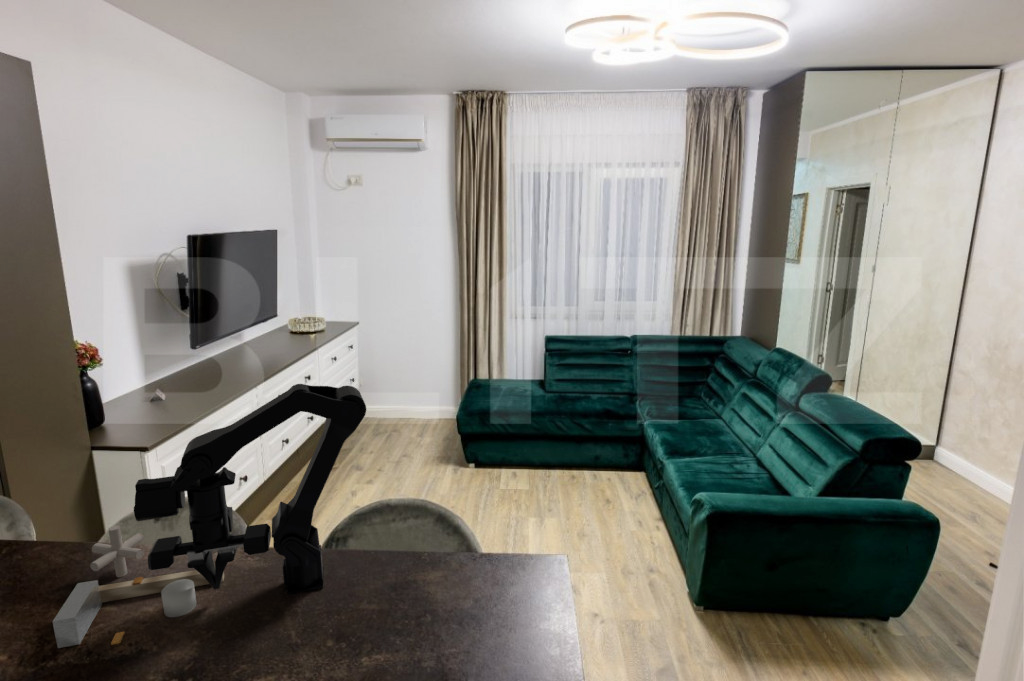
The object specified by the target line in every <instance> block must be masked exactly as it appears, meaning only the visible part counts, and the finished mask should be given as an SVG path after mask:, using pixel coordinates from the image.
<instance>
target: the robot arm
mask: <svg viewBox="0 0 1024 681" xmlns="http://www.w3.org/2000/svg"><path fill="white" fill-rule="evenodd" d="M300 412H304V413H308V414H312V415H316V416H318V417H321V418H325V424H324V429H323V431H322V434H321V436H320V438H319V440H318V443H317V445H316V448H315V449H314V452H313V454H312V456H311V459H310V461H309V463H308V465H307V467H306V470H305V472H304V474H303V476H302V478H301V481H300V482H299V486H298V487H297V490H296V491H295V494H294V496H293V498H292V499H291V500H290V501H288V503H285V502H284V501H280V502H279V505H278V510H277V512H276V514H275V515H274V516H273V517H272V518H271V526H270V525H269V524H268V523H261V524H254V525H247V526H246V529H245V531H244V532H245V533H244V534H237V533H232V531H233V523H234V521H233V520H234V518H233V515H234V514H233V507H232V506H228V505H227V499H226V489H225V488H226V487H225V486H231V485H234V484H235V482H236V476H237V475H236V472H234V471H232V470H229V469H228V468H227V467H225V465H227V464H228V462H229V461H230V460H232V459H233V457H234V456H235V455H236V454H237V453H238V452H239V451H241V449H242V448H244V447H245V446H247V445H249V444H250V443H252V442H254V441H255V440H257V439H258V438H260V437H261V436H263V435H265V434H266V433H268V432H269V431H271V430H273V429H274V428H276V427H277V426H279V425H281V424H282V423H284V422H286V421H287V420H289V419H291V418H292V417H294V416H296V415H297V414H299V413H300ZM366 413H367V405H366V403H365V401H364V398H363V397H362V393H361V392H360V390H358V388H356V387H354V386H352V385H343V386H339V387H336V386H335V387H334V386H330V385H329V386H328V385H309V384H303V383H297V384H293V385H292V386H291V387H290V388H288V390H286V391H284V392H283V393H281V394H279V395H278V396H277V397H275V398H273V399H271V400H270V401H268V402H266V403H265V404H263V405H262V406H260V407H258V408H256V409H255V410H253V411H251V412H250V413H248V414H246V415H245V416H244V417H243V416H242V418H240V419H239V420H237V421H235V422H233V423H231V424H230V425H227V426H225V427H221V428H220V427H219V428H216V429H212V430H210V431H207V432H206V433H205V432H204V433H203V434H201V435H198V436H196V437H194V438H192V439H191V440H190V441H189V442H188V443H187V444H186V447H185V450H184V452H183V454H182V457H181V462H180V465H179V466H178V467H177V468H176V469H175V472H174V475H172V476H165V477H156V478H143V479H138V480H137V482H136V483H135V486H134V487H135V495H134V506H133V514H134V518H135V520H136V521H137V522H144V521H150V520H155V519H156V520H157V519H162V518H169V517H174V516H175V517H176V516H177V515H178V514H179V513H180V512H179V509H180V510H182V509H184V508H185V507H186V506H185V505H186V495H187V505H188V510H189V511H188V512H189V516H188V520H189V522H188V523H189V530H190V531H191V536H192V541H189V542H183V540H182V537H181V535H176V536H175V535H174V536H170V537H169V536H168V537H163V538H158V539H156V541H155V542H154V544H153V546H152V547H151V549H150V552H149V553H148V555H147V566H148V570H150V571H156V570H161V569H169V568H170V567H171V566H172V565H173V564H174V563H175V557H179V556H183V555H186V557H187V558H188V562H187V568H188V569H194V570H197V571H198V572H199V573H200V574H201V575H202V576H203V577H204V578H205V579H206V580H207V581H208V582H209V584H208V585H210V586H211V587H212V589H213V590H220V587H221V584H222V582H221V580H222V576H223V572H224V573H225V569H226V567H227V564H228V563H231V562H234V560H235V557H236V555H237V549H238V547H239V548H240V547H243V552H244V553H245V554H247V555H248V556H252V555H258V554H265V553H267V552H268V551H269V550H270V545H271V539H272V540H273V546H272V547H273V548H274V551H275V552H276V553H277V554H278V555H280V556H282V557H284V559H283V561H282V575H283V576H282V577H283V585H284V586H285V587H286V594H287V595H292V594H297V593H303V592H308V591H314V590H320V589H323V588H324V585H325V582H324V578H325V577H324V576H325V575H324V573H325V572H324V570H325V567H324V566H323V556H322V545H321V544H320V538H319V530H318V528H317V527H316V526H314V525H312V521H313V518H314V517H313V516H314V511H315V508H316V507H317V506H316V505H317V503H318V501H319V499H320V497H321V494H322V492H323V491H324V488H325V485H326V483H327V482H328V479H329V476H330V474H331V472H332V470H333V468H334V465H335V464H336V461H337V459H338V457H339V455H340V453H341V451H342V448H343V445H344V443H346V440H348V439H349V437H350V436H351V435H352V434H353V433H355V432H356V430H357V428H358V427H359V425H360V424H361V422H362V421H363V420H364V418H365V417H366ZM230 533H232V534H230ZM213 551H217V554H216V555H217V556H216V558H215V561H214V558H213Z"/></svg>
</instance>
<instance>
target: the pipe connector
mask: <svg viewBox="0 0 1024 681" xmlns="http://www.w3.org/2000/svg"><path fill="white" fill-rule="evenodd" d="M107 530H108V534H109V536H108V537H109V541H110V544H108V543H102V542H101V543H100V542H99V543H98V542H96V543H95V544H93V545H92V547H91V552H92V553H94V554H97V555H98V554H99V555H102V556H100V557H98V558H97V559H96V560H93V561H92V562H91V563H90V564H89V565H90V569H91V570H92V571H94V572H98V571H99V570H101V569H103V568H104V567H106V565H109V564H110V563H112V562H113V565H114V571H115V576H116V578H122V577H125V576H126V575H127V574H128V568H127V563H126V562H127V561H126V558H128V559H134V560H140V559H142V558H143V556H144V555H145V554H144V549H141V548H135V546H137V545H139V544H140V543H142V542H143V541H144V536H143V535H142V533H139V532H138V533H135V534H134V535H132V536H131V537H129V538H128V539H126V540H125V541H123V538H122V531H121V526H120V525H119V524H118V525H113V526H110V527H108V529H107Z"/></svg>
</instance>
